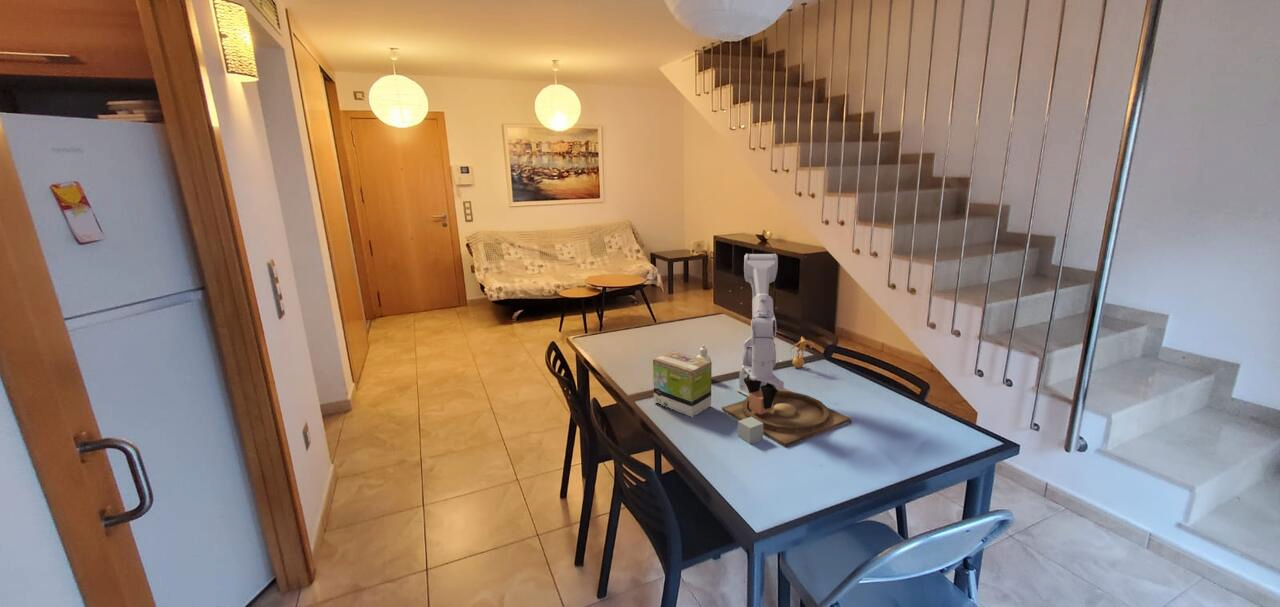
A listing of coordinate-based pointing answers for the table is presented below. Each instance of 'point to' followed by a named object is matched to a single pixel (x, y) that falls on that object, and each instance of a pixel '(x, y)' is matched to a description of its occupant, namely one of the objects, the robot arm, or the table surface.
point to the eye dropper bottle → (703, 354)
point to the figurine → (798, 361)
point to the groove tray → (791, 417)
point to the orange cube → (758, 402)
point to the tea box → (682, 382)
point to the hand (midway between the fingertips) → (761, 404)
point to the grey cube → (750, 430)
